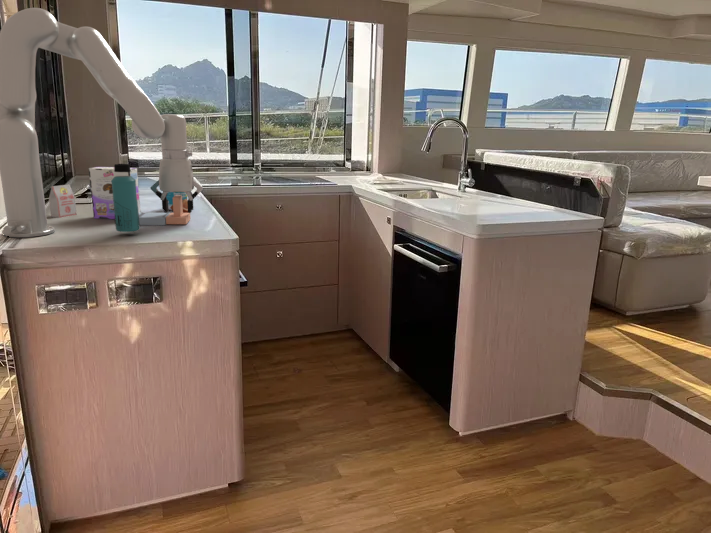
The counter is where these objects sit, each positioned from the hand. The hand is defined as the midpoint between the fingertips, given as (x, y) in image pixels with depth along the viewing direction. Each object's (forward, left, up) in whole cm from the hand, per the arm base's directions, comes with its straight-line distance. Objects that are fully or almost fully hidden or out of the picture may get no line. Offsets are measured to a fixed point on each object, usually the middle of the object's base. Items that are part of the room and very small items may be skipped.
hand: (178, 211), depth 171 cm
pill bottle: (+26, +5, -4) cm, 27 cm away
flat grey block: (0, +9, -3) cm, 9 cm away
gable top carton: (+12, +39, -4) cm, 41 cm away
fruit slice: (+16, +2, -4) cm, 17 cm away
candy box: (+8, +21, -4) cm, 23 cm away
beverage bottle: (-19, +11, -4) cm, 22 cm away
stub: (0, 0, -3) cm, 3 cm away
